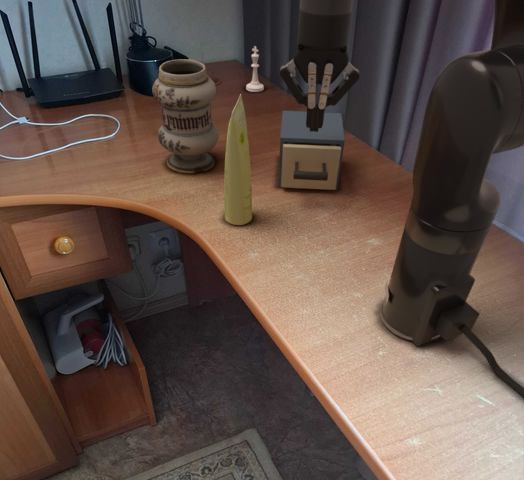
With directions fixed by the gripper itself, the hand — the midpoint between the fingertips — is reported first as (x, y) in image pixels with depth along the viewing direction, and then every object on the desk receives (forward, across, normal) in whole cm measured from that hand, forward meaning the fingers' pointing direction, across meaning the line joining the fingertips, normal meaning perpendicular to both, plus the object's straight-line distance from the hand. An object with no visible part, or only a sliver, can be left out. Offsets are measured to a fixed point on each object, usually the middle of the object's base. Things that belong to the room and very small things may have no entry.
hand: (313, 129), depth 80 cm
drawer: (+12, 0, +5) cm, 13 cm away
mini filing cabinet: (+13, 0, +10) cm, 16 cm away
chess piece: (+13, -14, +57) cm, 60 cm away
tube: (+13, -12, -9) cm, 20 cm away
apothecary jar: (+13, -24, +12) cm, 30 cm away
